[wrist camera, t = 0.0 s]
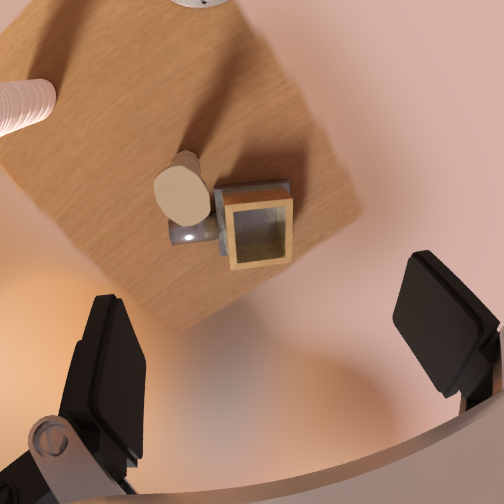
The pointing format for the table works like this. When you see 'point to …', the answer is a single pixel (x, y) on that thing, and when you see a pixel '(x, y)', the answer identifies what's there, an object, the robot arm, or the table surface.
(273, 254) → the socket
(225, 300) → the table surface
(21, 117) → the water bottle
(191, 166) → the handle
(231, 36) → the table surface
